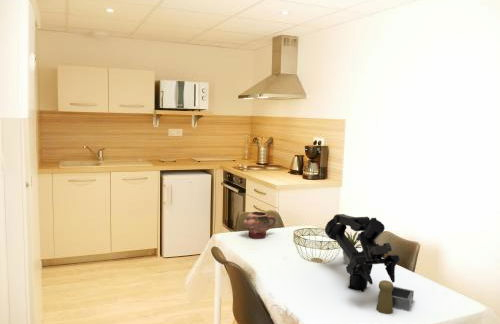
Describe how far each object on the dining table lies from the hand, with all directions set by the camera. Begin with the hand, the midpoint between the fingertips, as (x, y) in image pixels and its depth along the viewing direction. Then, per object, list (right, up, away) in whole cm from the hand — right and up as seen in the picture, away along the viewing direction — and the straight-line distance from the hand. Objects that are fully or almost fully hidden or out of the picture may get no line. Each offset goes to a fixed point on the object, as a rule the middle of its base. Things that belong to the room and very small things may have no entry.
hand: (382, 283), depth 154 cm
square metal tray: (+7, -9, +5) cm, 13 cm away
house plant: (0, -4, +47) cm, 47 cm away
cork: (0, -10, -1) cm, 10 cm away
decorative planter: (-44, +1, +87) cm, 98 cm away
